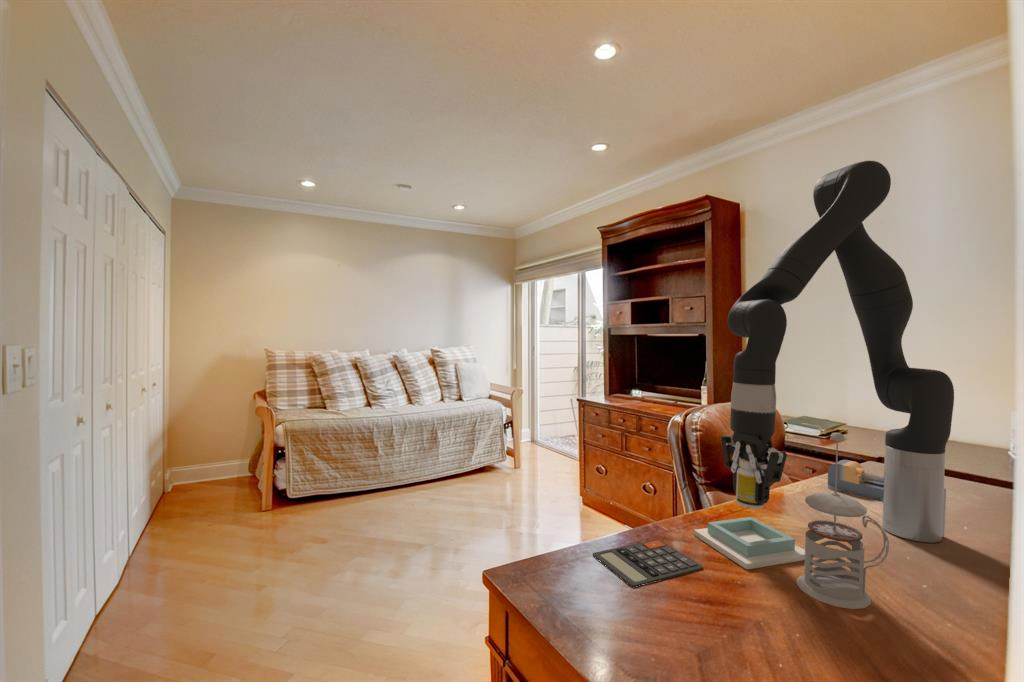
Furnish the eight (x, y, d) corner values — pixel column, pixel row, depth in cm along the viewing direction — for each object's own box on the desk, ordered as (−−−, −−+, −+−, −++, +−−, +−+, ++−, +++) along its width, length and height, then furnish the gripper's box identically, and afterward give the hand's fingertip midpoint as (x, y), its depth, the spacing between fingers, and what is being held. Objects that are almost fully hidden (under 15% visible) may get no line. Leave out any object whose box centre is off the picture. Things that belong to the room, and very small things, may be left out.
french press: (793, 568, 82) (797, 423, 81) (876, 585, 77) (882, 430, 76) (800, 598, 73) (804, 435, 72) (895, 619, 68) (901, 444, 67)
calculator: (704, 565, 81) (632, 584, 75) (704, 571, 81) (632, 590, 75) (657, 537, 92) (591, 552, 86) (657, 542, 92) (591, 557, 86)
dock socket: (751, 526, 98) (751, 512, 98) (811, 558, 85) (811, 542, 85) (693, 534, 95) (693, 519, 94) (746, 569, 81) (747, 552, 81)
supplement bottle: (767, 510, 87) (769, 464, 86) (739, 507, 88) (741, 462, 87) (759, 500, 91) (760, 457, 91) (733, 498, 92) (734, 455, 92)
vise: (824, 489, 122) (825, 463, 122) (839, 481, 128) (840, 456, 128) (914, 511, 108) (915, 482, 107) (926, 501, 114) (927, 473, 114)
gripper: (801, 413, 83) (798, 510, 84) (741, 400, 97) (738, 483, 97) (767, 415, 81) (763, 514, 81) (709, 401, 95) (707, 486, 95)
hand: (750, 497), depth 89 cm, fingers closed on supplement bottle, 4 cm apart
